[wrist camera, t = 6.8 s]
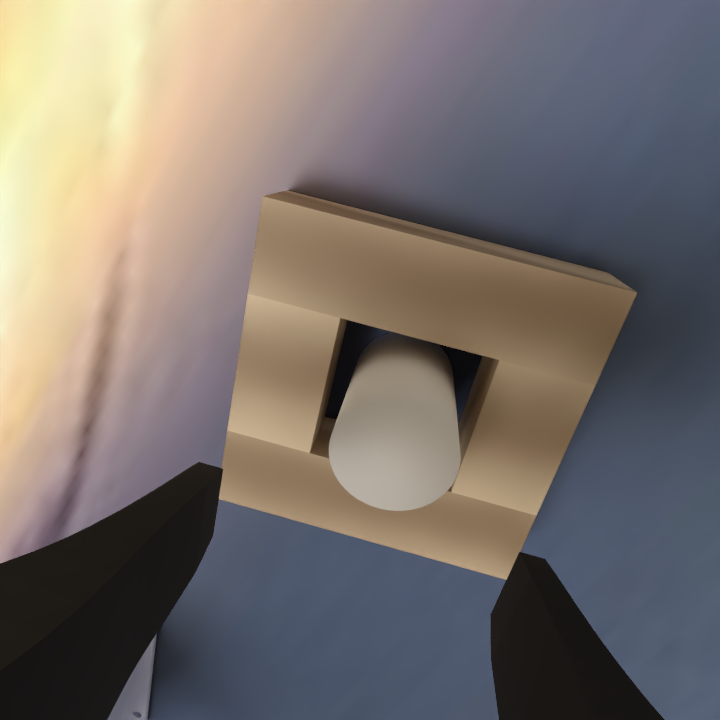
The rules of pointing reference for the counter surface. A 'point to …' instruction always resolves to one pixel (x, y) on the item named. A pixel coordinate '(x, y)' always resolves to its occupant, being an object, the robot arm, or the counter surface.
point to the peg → (398, 425)
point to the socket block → (426, 322)
